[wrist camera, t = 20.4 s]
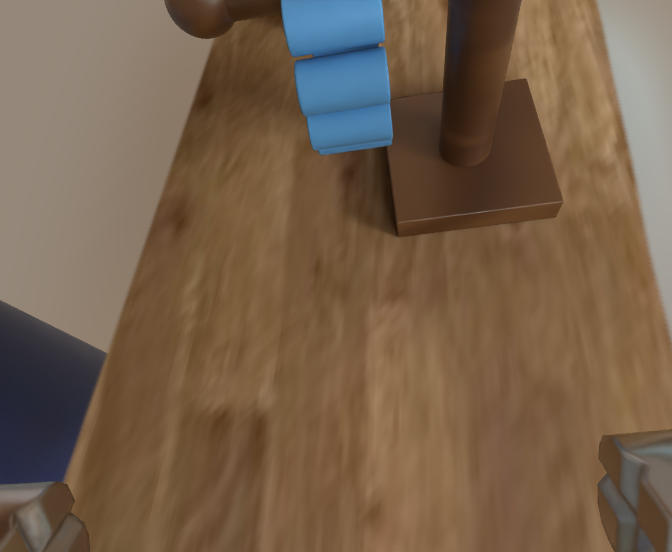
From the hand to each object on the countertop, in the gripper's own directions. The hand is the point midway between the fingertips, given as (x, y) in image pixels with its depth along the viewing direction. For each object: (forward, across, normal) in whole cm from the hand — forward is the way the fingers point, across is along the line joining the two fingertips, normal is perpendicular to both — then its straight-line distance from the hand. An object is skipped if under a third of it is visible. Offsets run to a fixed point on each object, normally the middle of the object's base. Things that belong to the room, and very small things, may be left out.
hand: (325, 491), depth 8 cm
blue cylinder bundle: (+19, -1, -5) cm, 19 cm away
